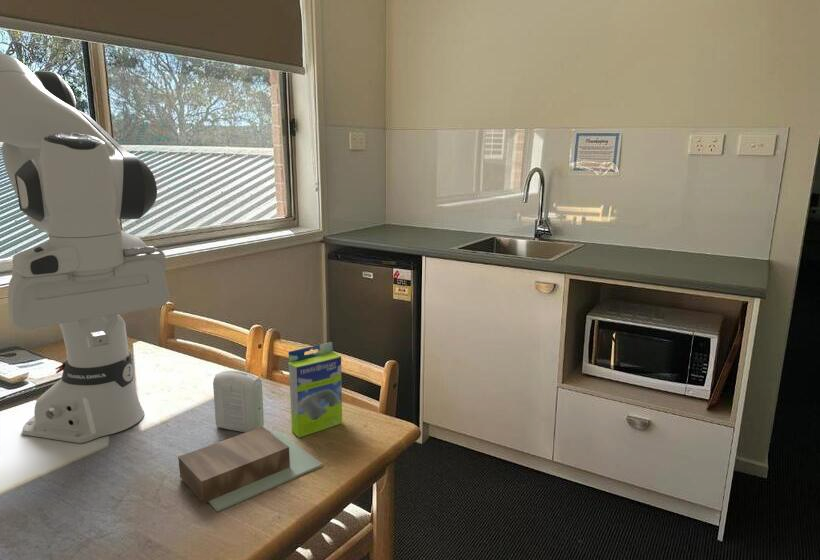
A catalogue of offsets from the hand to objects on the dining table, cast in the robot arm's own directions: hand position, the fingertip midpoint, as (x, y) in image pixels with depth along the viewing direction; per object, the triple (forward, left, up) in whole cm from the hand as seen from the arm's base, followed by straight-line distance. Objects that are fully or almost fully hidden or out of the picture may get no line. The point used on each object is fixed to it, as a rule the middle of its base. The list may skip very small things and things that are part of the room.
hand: (99, 345), depth 83 cm
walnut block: (+9, +6, -26) cm, 28 cm away
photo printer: (+9, +29, -29) cm, 42 cm away
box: (+25, +30, -29) cm, 49 cm away
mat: (+16, +14, -28) cm, 36 cm away
